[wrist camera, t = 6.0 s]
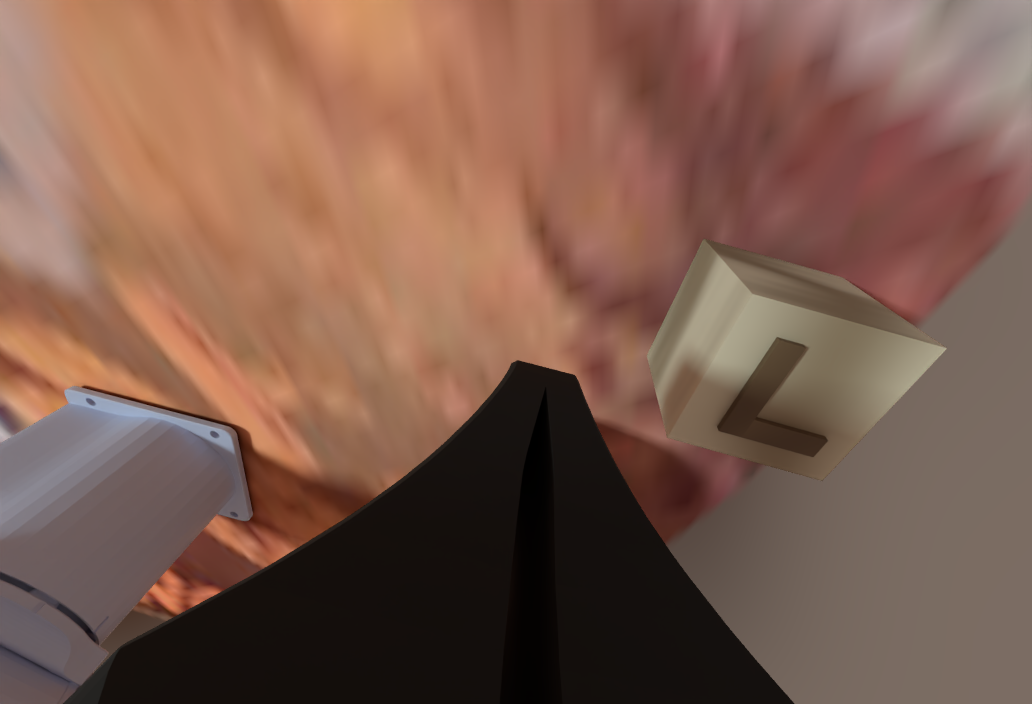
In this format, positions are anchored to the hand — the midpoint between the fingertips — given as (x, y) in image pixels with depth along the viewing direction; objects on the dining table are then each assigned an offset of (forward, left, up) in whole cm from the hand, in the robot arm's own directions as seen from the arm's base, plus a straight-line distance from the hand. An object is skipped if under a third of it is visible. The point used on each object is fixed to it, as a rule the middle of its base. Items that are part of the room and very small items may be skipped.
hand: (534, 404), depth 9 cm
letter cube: (+7, 0, -8) cm, 11 cm away
